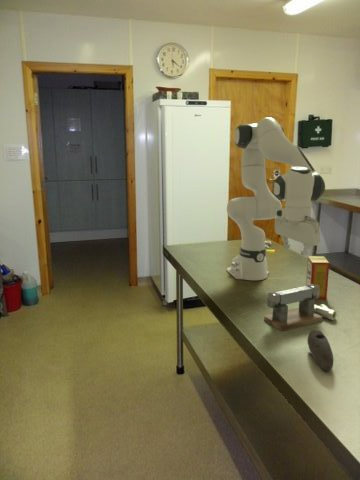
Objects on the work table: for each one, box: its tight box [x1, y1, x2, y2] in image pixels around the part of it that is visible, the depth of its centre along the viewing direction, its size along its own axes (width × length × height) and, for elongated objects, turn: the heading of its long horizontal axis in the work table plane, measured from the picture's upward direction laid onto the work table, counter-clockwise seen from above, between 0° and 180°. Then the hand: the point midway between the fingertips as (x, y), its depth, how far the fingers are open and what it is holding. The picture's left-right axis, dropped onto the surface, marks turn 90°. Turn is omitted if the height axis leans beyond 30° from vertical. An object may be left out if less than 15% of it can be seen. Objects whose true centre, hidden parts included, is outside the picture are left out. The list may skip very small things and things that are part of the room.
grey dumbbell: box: [266, 284, 319, 309], centre depth 133 cm, size 4×22×4 cm, turn 114°
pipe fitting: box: [314, 303, 337, 321], centre depth 139 cm, size 8×4×7 cm
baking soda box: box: [305, 255, 330, 300], centre depth 157 cm, size 10×6×16 cm
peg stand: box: [263, 299, 323, 332], centre depth 134 cm, size 10×18×8 cm, turn 114°
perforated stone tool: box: [307, 329, 334, 372], centre depth 108 cm, size 15×5×7 cm, turn 174°
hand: (295, 251), depth 135 cm, fingers open, 8 cm apart
